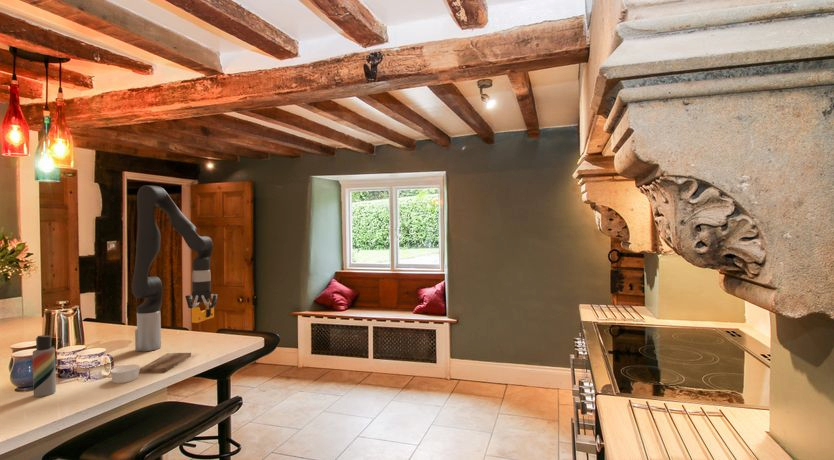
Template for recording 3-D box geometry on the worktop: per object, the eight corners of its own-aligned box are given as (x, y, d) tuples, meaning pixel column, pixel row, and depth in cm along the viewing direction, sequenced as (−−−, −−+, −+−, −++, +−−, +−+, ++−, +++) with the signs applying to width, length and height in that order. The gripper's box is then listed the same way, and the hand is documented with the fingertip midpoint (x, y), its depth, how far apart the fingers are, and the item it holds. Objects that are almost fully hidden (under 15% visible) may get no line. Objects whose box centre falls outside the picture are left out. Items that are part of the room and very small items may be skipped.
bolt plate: (139, 372, 164) (139, 368, 164) (167, 356, 184) (167, 352, 184) (166, 372, 164) (166, 367, 164) (191, 356, 184) (191, 352, 184)
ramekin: (117, 386, 151) (116, 373, 150) (106, 381, 155) (105, 369, 155) (144, 378, 158) (143, 366, 158) (132, 374, 163) (132, 362, 163)
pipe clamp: (205, 316, 199) (205, 302, 199) (214, 317, 198) (214, 303, 198) (188, 322, 187) (188, 307, 187) (196, 322, 187) (197, 308, 186)
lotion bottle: (33, 394, 144) (31, 335, 144) (55, 389, 148) (53, 332, 148) (34, 398, 140) (32, 338, 140) (56, 393, 144) (55, 335, 144)
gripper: (221, 278, 197) (221, 315, 197) (189, 279, 196) (190, 315, 196) (214, 280, 189) (214, 318, 190) (181, 281, 189) (181, 319, 189)
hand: (202, 317), depth 193 cm, fingers closed on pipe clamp, 4 cm apart
